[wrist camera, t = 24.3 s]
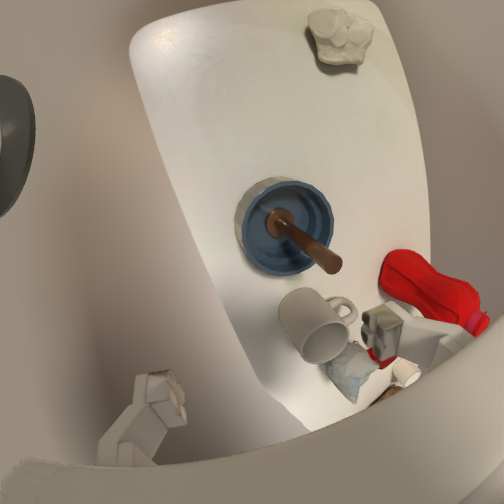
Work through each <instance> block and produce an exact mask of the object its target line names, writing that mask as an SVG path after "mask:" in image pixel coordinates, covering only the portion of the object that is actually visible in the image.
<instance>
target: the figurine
mask: <svg viewBox="0 0 504 504" xmlns="http://www.w3.org/2000/svg"><path fill="white" fill-rule="evenodd" d="M354 342H357V343H358V341H354ZM354 342H353V343H349V342H348V343H347V345H346V346H345V348H344V349H343V350H342V352H341V353H340V354H338V355H337V356H336V357H335V358H333V359H331V360H329V361H327V362H325V363H324V364H325V365H326V373H327V376H328V377H329V379H330V380H331V381H332V382H333V384H334V385H335V386H336V387H337V388H338V390H339V391H340V392H341V393H342V394H343V395H344V396H345V397H346V398H347V399H348V400H349V401H351V402H352V403H353V404H357V398H358V393H359V388H360V386H362V385H363V384H364V383H365V382H366V381H367V380H368V378H369V376H370V374H371V373H372V372H374V371H375V370H376V369H378V368H379V364H378V363H376V362H375V361H373V360H372V359H371V358H370V356H369V354H368V352H367V351H366V350H365V349H364V348H363V347H362V346H360V345H359V343H358V344H356V343H354Z"/></svg>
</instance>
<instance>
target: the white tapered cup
mask: <svg viewBox="0 0 504 504" xmlns="http://www.w3.org/2000/svg"><path fill="white" fill-rule="evenodd" d="M392 372H393V374H394V375H395V376H396V378H397V379H398V381H399V382H400V384H401V385H402V387H403V388H405V387H407V386H409V385H410V384H412V383H413V382H415V381H417V380H418V379H419V377H420V375H421V370H420V369H419V368H417V367H416V366H415V365H414V364H412V363H411V362H410V361H408V360H406V359H404V358H402V359H400V360H399V361H398V362H397V363H396V364H395V365H394V366H393V368H392Z"/></svg>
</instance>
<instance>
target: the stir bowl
mask: <svg viewBox="0 0 504 504" xmlns="http://www.w3.org/2000/svg"><path fill="white" fill-rule="evenodd" d="M275 208H284V209H286V210H288V211H290V212H291V213H292V214H293V216H294V219H295V225H296V226H297V227H299V228H300V229H302V230H303V231H304V232H306V233H307V234H309V235H310V236H312V237H313V238H314V239H316V240H317V241H319V242H320V243H321V244H323V245H324V246H326V247H327V248H328V247H329V244H330V241H331V238H332V235H333V228H334V218H333V214H332V210H331V206H330V204H329V203H328V201H327V200H326V198H325V196H324V195H323V194H322V193H321V192H320V191H319V190H317V189H316V188H315V187H313V186H312V185H310V184H307V183H303V182H300V181H297V180H293V179H289V178H286V177H275V178H268V179H266V180H263V181H261V182H258V183H256V184H255V185H254V186H253V187H252V188H250V189H249V190H248V191H247V192H246V193H245V194H244V196H243V198H242V199H241V201H240V202H239V204H238V207H237V210H236V214H235V218H234V219H235V232H236V235H237V237H238V240H239V242H240V244H241V246H242V248H243V250H244V251H245V253H246V255H247V256H248V258H249V259H250V260H251V261H252V262H253V263H254V264H255V266H256V267H258V268H259V269H261V270H263V271H265V272H267V273H269V274H273V275H279V276H287V275H294V274H298V273H300V272H302V271H305V270H307V269H309V268H310V267H312V266H313V265H314V264H315V262H314V261H313V260H312V259H311V258H310V257H309V256H307V255H306V254H305V253H304V252H303V251H302V250H301V249H299V248H298V247H297V246H296V245H295V244H294V243H293V242H291V241H290V240H289V239H288V238H287V237H283V238H277V237H274V236H272V235H271V234H270V233H269V232H268V231H267V229H266V227H265V219H266V216H267V214H268V213H269V212H270V211H271V210H273V209H275Z"/></svg>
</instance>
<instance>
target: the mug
mask: <svg viewBox="0 0 504 504" xmlns="http://www.w3.org/2000/svg"><path fill="white" fill-rule="evenodd" d="M339 305H344V306H347V307H348V308H349V309H350V310H351V312H350V313H349V314H348V315H346V316H344V317H340V316H339V315H338V314H337V313H336V312H335V311H334V310H333V309H334V308H335V307H337V306H339ZM278 314H279V319H280V321H281V323H282V325H283V326H284V328H285V329H286V331H287V333H288V334H289V336H290V338H291V340H292V341H293V343H294V345H295V347H296V348H297V350H298V352H299V354H300V355H301V357H302V358H303V359H304V360H305V361H306V362H308V363H311V364H321V363H325V362H327V361H329V360H331V359H333V358H335V357H336V356H337V355H338V354H340V353H341V352H342V350H343V349H344V348H345V346H346V345H347V343H348V340H349V335H350V333H349V328H348V325H350V324H351V323H353V322H354V321H355V320H356V319H357V317H358V311H357V309H356V307H355V305H354V304H353V303H352V302H351V301H350V300H348V299H347V298H344V297H337V298H334V299H332V300H330V301H328V302H326V301H325V300H324V299H323V298H322V296H321V295H320V294H319V293H318V292H317V291H315V290H313V289H311V288H299V289H296V290H294V291H292V292H290V293H289V294H288V295H287V296H286V297H285V298H284V299H283V300H282V302H281V304H280V306H279V311H278Z"/></svg>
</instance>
